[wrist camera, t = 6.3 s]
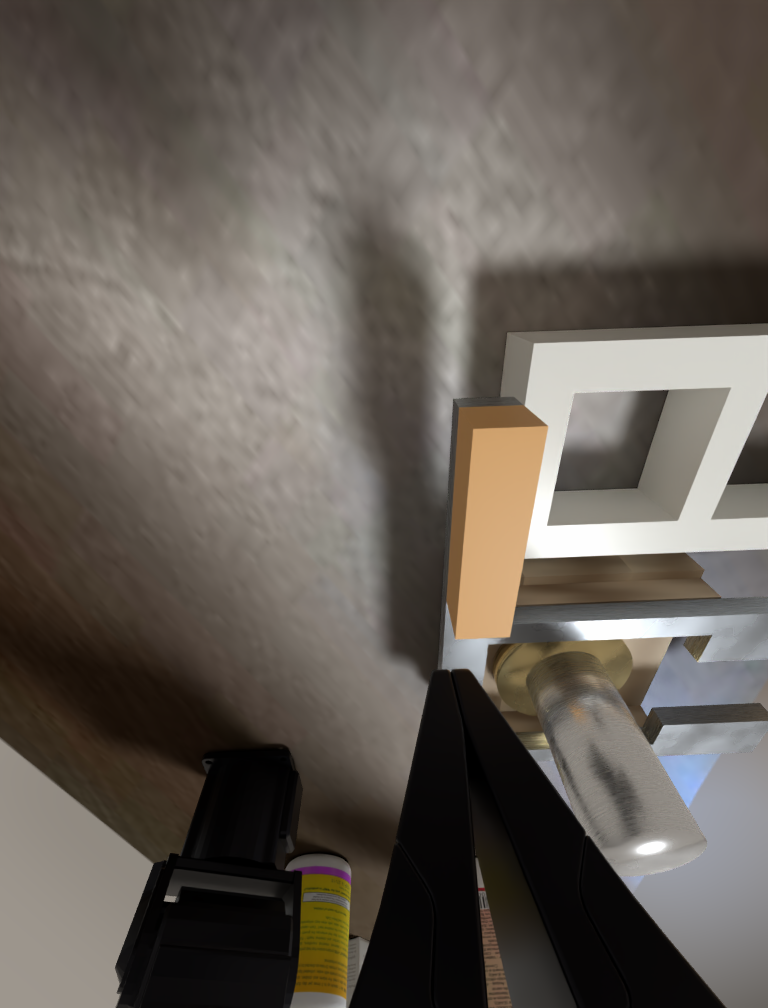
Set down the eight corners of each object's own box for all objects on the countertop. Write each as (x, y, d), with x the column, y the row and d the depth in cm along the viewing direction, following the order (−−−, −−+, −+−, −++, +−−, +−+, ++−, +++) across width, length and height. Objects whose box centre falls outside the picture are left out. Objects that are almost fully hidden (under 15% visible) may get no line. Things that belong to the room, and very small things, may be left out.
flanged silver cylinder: (476, 665, 26) (537, 895, 16) (487, 582, 22) (573, 812, 13) (583, 661, 26) (707, 886, 16) (611, 578, 22) (789, 802, 13)
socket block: (436, 692, 27) (445, 750, 24) (444, 548, 21) (458, 599, 18) (612, 684, 27) (645, 741, 24) (670, 539, 21) (725, 588, 18)
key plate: (433, 747, 23) (440, 806, 21) (453, 398, 13) (472, 429, 11) (737, 734, 23) (783, 791, 21) (990, 379, 13) (1141, 404, 11)
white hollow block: (485, 523, 20) (502, 559, 18) (507, 332, 16) (533, 343, 13) (796, 511, 20) (858, 545, 18) (905, 318, 16) (1008, 326, 13)
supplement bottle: (294, 846, 38) (262, 1082, 27) (360, 854, 39) (355, 1082, 28) (278, 874, 41) (244, 1095, 30) (340, 880, 42) (328, 1095, 31)
